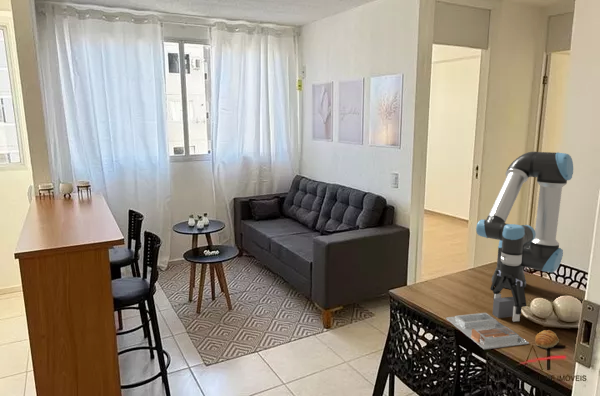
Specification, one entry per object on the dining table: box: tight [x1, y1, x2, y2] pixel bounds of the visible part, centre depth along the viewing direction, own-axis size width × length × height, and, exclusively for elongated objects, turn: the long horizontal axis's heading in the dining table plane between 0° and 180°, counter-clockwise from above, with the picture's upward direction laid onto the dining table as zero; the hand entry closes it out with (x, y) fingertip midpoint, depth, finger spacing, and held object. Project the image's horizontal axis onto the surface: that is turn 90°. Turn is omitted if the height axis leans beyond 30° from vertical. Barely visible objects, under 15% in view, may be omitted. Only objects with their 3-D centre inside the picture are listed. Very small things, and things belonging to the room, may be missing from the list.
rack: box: [445, 312, 530, 351], centre depth 160 cm, size 18×24×4 cm
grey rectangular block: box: [492, 296, 519, 319], centre depth 173 cm, size 10×4×7 cm, turn 103°
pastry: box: [534, 329, 560, 349], centre depth 151 cm, size 9×7×4 cm
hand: (505, 314), depth 173 cm, fingers open, 11 cm apart
